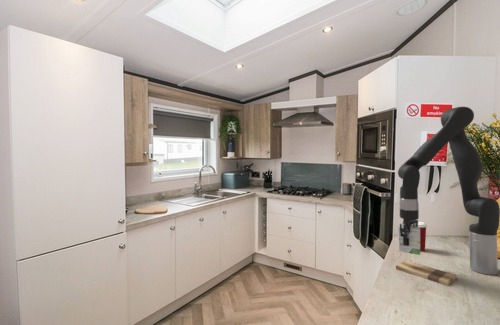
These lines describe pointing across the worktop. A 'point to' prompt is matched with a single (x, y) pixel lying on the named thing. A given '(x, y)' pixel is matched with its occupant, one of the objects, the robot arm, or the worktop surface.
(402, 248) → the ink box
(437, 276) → the board
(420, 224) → the coffee cup
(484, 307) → the worktop surface
